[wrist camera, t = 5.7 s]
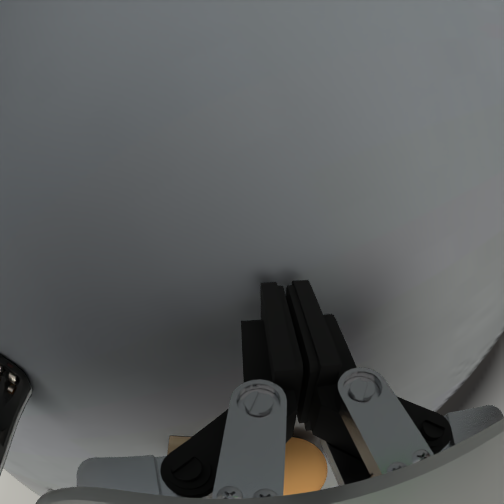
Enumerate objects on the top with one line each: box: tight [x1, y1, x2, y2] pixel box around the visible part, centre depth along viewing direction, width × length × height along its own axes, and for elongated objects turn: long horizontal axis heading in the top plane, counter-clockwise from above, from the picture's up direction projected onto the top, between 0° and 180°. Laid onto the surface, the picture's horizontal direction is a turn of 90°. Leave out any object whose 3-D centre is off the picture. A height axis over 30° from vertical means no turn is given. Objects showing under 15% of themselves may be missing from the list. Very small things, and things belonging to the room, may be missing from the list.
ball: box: [283, 437, 327, 496], centre depth 15 cm, size 6×6×6 cm
